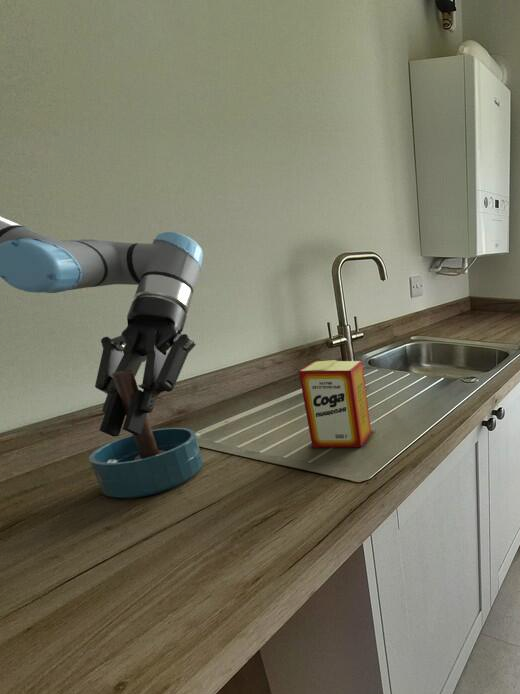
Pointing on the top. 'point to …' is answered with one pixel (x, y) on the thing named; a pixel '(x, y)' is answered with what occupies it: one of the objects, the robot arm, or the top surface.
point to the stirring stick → (126, 391)
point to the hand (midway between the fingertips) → (120, 432)
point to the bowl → (147, 464)
